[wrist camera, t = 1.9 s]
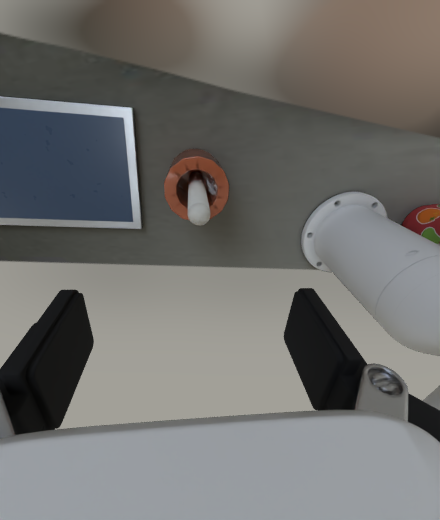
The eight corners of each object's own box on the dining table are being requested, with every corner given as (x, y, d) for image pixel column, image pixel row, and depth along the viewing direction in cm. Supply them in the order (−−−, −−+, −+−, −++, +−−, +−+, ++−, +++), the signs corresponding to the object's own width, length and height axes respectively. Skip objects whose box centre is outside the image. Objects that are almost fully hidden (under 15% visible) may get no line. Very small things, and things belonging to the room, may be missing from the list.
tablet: (133, 107, 28) (132, 107, 27) (142, 226, 35) (141, 229, 34) (-73, 90, 26) (-82, 89, 25) (-20, 222, 32) (-25, 224, 32)
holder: (223, 150, 31) (231, 158, 25) (219, 204, 34) (226, 223, 28) (168, 146, 30) (163, 153, 24) (169, 202, 34) (165, 221, 28)
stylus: (203, 170, 32) (211, 206, 19) (202, 185, 33) (210, 229, 20) (188, 169, 31) (187, 205, 19) (188, 184, 32) (187, 228, 20)
